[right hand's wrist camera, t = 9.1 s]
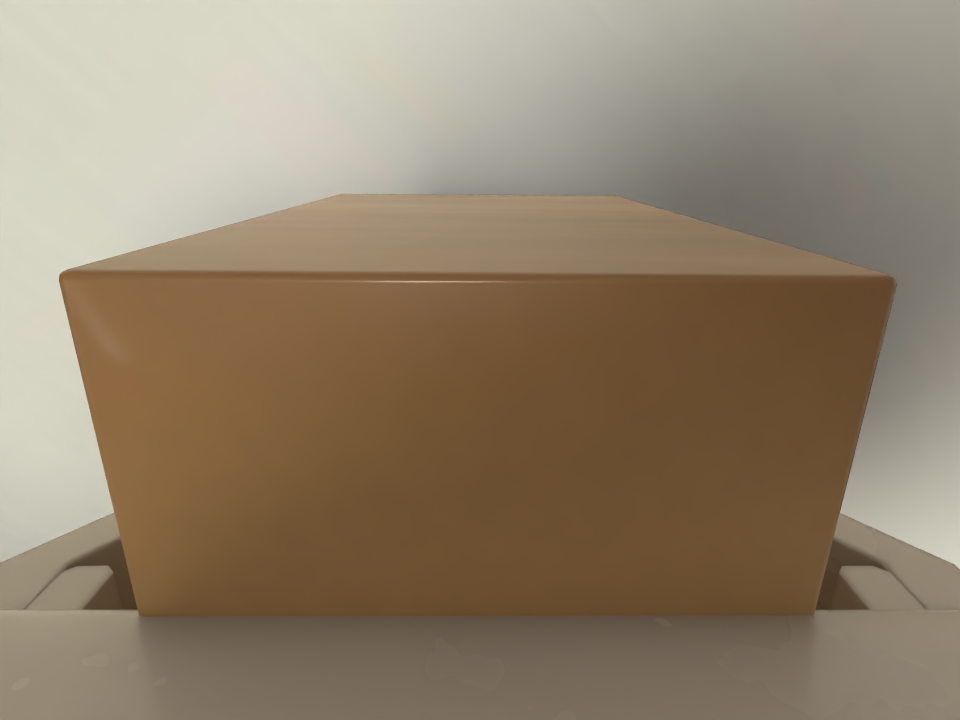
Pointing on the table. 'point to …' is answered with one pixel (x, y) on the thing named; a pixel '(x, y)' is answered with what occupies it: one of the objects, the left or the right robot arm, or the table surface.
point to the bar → (476, 409)
